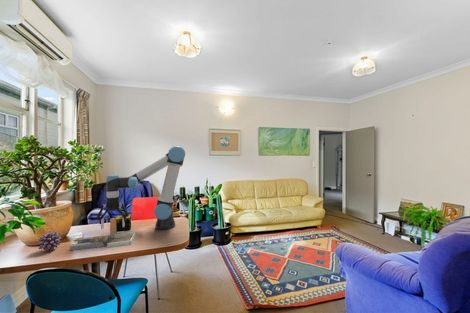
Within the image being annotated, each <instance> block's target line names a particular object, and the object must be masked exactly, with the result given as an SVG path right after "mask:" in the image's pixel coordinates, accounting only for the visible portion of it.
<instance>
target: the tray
mask: <svg viewBox="0 0 470 313" xmlns="http://www.w3.org/2000/svg"><path fill="white" fill-rule="evenodd" d="M136 234H137V233H136V232H125V233H117V234H115V237H114V239H118V238H119V239H120V238H129V237H131V238H130V239H129V240H124V241H115V242H114V241H112V242H111V243H108V244H107V248H112V247H113V248H114V247H119V246H120V247H121V246H122V247H123V246H128V245H132V244H133V241H134V240H135V239H136V238H135V237H136V236H137V235H136Z"/></svg>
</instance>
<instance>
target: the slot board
mask: <svg viewBox="0 0 470 313" xmlns="http://www.w3.org/2000/svg"><path fill="white" fill-rule="evenodd" d="M107 235H108V234H107ZM92 237H93V236H91V237H90V236H89V237H80V238H78V239H77V243H73V244H71V245H70V246H69V251H70V252H73V251H81V250H87V249H88V250H90V249H98V248H106V247H107V244H108V243H113V242H114V239H115V237H111V238H110V234H109V235H108V242H107V243H106V244H104V241H98V242H91V238H92ZM107 248H108V247H107Z"/></svg>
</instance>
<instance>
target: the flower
mask: <svg viewBox="0 0 470 313" xmlns="http://www.w3.org/2000/svg"><path fill="white" fill-rule="evenodd" d="M61 234H62V233H61V232H57V231H56V230H53V231H52V230H49V231H45V233H42V236H41V235H39V237H38V239H37V241H38V242H36V245H39V247H38V250H43V251H44V252H46V253H47V251H49V250H50V251H51V250H52V251H54V250H55V248H58V246H60V245H61V243H62V240H63V239H64V238H63V237H62V235H61Z"/></svg>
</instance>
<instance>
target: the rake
mask: <svg viewBox="0 0 470 313" xmlns="http://www.w3.org/2000/svg"><path fill="white" fill-rule="evenodd" d="M109 232H110V233H109V239H111V238H115V234H118V232H116V217H112V218H111V217H110V219H109Z"/></svg>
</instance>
